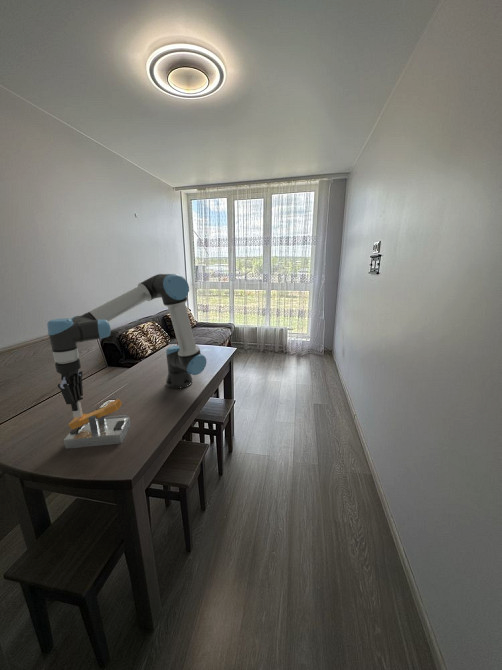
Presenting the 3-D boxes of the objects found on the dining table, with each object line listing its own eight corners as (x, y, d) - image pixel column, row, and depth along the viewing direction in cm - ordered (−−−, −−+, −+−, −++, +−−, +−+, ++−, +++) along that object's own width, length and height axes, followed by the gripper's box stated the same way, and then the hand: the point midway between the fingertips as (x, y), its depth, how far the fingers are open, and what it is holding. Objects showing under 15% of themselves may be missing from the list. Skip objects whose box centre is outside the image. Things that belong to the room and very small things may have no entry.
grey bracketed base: (130, 425, 110) (127, 402, 108) (121, 443, 99) (117, 418, 96) (81, 429, 108) (76, 406, 105) (65, 448, 96) (59, 423, 93)
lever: (122, 403, 104) (118, 398, 103) (117, 410, 99) (114, 404, 98) (78, 422, 103) (74, 417, 102) (72, 429, 98) (68, 424, 98)
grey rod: (127, 418, 116) (127, 414, 115) (126, 420, 114) (125, 416, 113) (92, 421, 114) (92, 417, 113) (90, 423, 112) (89, 419, 111)
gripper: (66, 355, 100) (76, 408, 106) (45, 367, 87) (58, 427, 93) (86, 354, 101) (95, 407, 107) (68, 366, 88) (80, 425, 94)
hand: (78, 416), depth 100 cm, fingers closed
